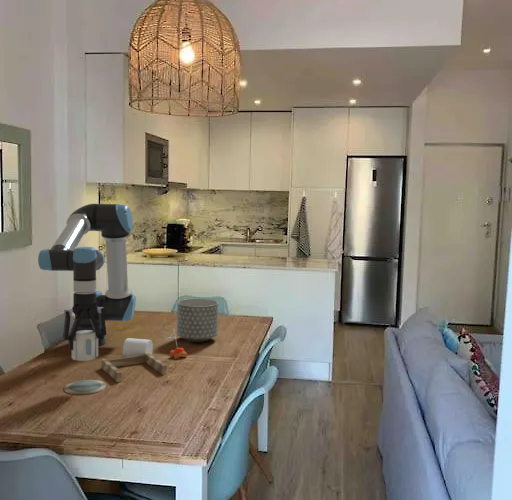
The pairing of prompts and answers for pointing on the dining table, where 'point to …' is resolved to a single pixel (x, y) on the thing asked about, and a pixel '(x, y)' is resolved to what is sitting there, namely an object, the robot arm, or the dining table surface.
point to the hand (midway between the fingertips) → (85, 357)
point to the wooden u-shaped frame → (111, 364)
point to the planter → (197, 319)
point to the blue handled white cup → (85, 345)
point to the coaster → (84, 387)
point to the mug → (137, 347)
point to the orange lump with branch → (177, 350)
